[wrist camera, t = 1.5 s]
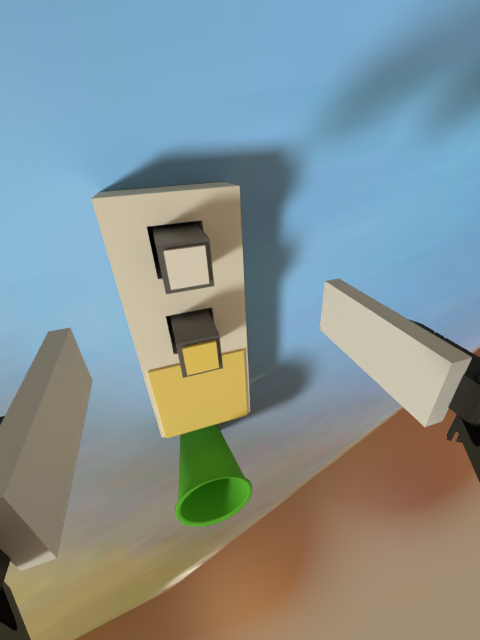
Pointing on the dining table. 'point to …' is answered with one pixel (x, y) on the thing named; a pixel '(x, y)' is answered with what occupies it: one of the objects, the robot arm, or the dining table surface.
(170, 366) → the box
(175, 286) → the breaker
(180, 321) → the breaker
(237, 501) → the cup
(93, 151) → the dining table surface
